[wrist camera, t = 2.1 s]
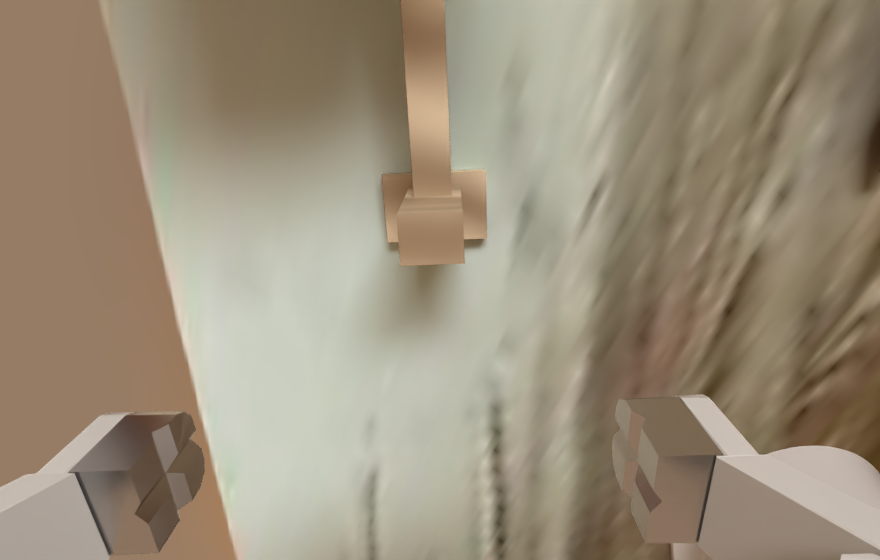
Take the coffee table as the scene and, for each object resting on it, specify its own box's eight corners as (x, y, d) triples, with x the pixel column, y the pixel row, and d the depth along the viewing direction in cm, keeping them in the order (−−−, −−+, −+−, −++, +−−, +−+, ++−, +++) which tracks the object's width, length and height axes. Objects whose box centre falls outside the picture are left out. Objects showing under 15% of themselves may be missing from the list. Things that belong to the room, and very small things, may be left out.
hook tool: (485, 234, 29) (496, 278, 22) (389, 238, 29) (370, 282, 22) (480, -147, 22) (494, -258, 15) (355, -138, 23) (312, -243, 16)
